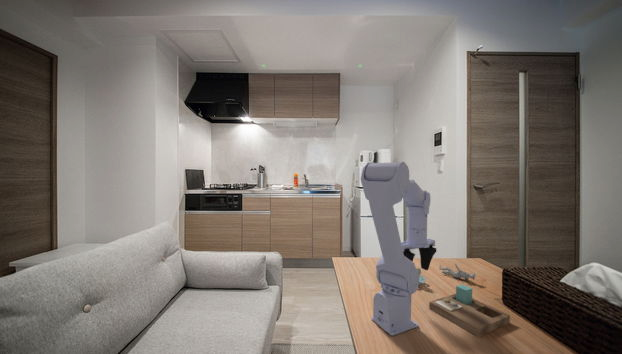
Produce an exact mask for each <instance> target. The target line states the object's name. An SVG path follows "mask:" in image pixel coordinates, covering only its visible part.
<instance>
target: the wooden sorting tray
mask: <svg viewBox="0 0 622 354" xmlns="http://www.w3.org/2000/svg"><path fill="white" fill-rule="evenodd" d="M428 305H429V310H431V311H433V312H434V313H436V314H438V315H440V316H441V317H443V318H444V319H446V320H447V321H450V322H452V323H454V324H456V326H458V327H460V328H462V329H463V330H465V331H467V332H469V333H470V334H472V335H474V336H476V337H477V338H480V337H482V336H485V335H486V334H488V333H491V332H492V331H495V330H497V329H499V328H502V327H504V326H507V325H509V324H510V323H511V315H510V314H508V313H505V312H503V311H501V310H498V309H497V308H494V307H493V306H490V305H488V304H485V303H484V302H481V301H479V300H478V299H477V300H476V299H475V298H473V297H472V304H469V305H464V304H462V303H460V302H458V301H456V293H454V294H451V295H450V294H449V295H448V296H447V295H446V296H444V297H441V298H438V299H435V300H431V301H429V303H428Z"/></svg>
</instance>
